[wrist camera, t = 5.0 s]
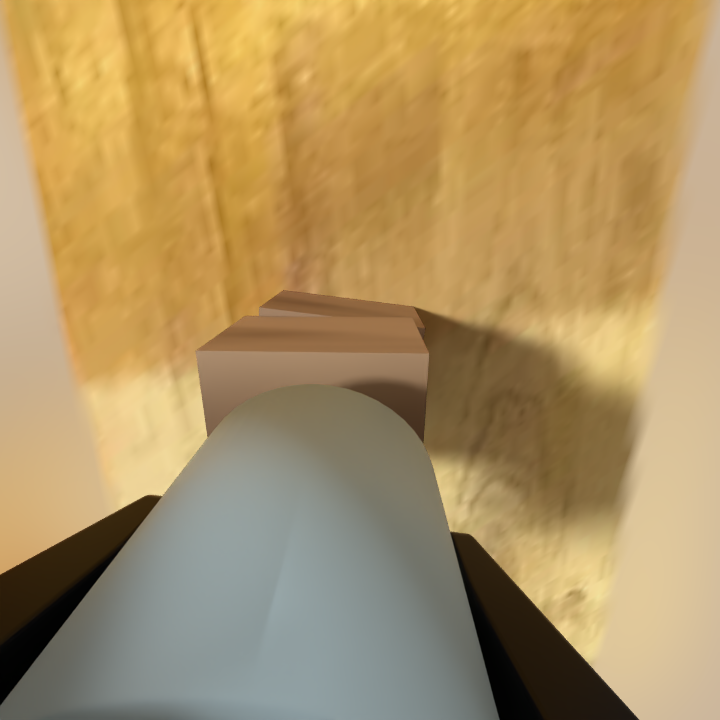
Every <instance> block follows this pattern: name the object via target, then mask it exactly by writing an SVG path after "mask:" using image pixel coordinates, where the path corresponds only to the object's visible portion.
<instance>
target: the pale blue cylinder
mask: <svg viewBox="0 0 720 720" xmlns="http://www.w3.org/2000/svg"><path fill="white" fill-rule="evenodd" d="M0 720H499V716H498V713H497V709H496V705H495V701H494V697H493V694H492V690H491V686H490V682H489V678H488V675H487V671H486V667H485V663H484V659H483V656H482V652H481V648H480V644H479V640H478V636H477V633H476V629H475V625H474V621H473V617H472V614H471V610H470V606H469V602H468V598H467V595H466V591H465V587H464V583H463V579H462V576H461V572H460V568H459V564H458V560H457V557H456V553H455V549H454V545H453V541H452V538H451V534H450V530H449V526H448V522H447V518H446V515H445V511H444V507H443V503H442V499H441V496H440V492H439V488H438V484H437V480H436V477H435V473H434V469H433V466H432V463H431V460H430V457H429V454H428V452H427V450H426V448H425V446H424V444H423V443H422V441H421V440H420V438H419V437H418V435H417V434H416V433H415V431H414V430H413V429H412V428H411V427H410V426H409V425H408V424H407V422H406V421H405V420H404V419H402V418H401V417H400V416H399V415H398V414H396V413H395V412H394V411H393V410H392V409H390V408H388V407H387V406H385V405H384V404H382V403H380V402H379V401H377V400H375V399H373V398H371V397H368V396H366V395H364V394H362V393H359V392H356V391H353V390H349V389H346V388H341V387H336V386H331V385H320V384H302V385H291V386H286V387H280V388H276V389H273V390H270V391H267V392H263V393H261V394H259V395H257V396H255V397H253V398H250V399H248V400H247V401H245V402H244V403H242V404H241V405H239V406H237V407H236V408H235V409H234V410H232V411H231V412H230V413H229V414H228V415H227V416H225V417H224V418H223V420H222V421H221V422H220V423H219V424H218V426H217V427H216V428H215V429H214V430H213V432H212V433H211V434H210V436H209V437H208V438H207V439H206V441H205V442H204V443H203V445H202V446H201V447H200V448H199V450H198V451H197V452H196V454H195V455H194V456H193V458H192V459H191V460H190V461H189V463H188V464H187V465H186V467H185V468H184V469H183V470H182V472H181V473H180V474H179V476H178V477H177V478H176V479H175V481H174V482H173V483H172V485H171V486H170V487H169V489H168V490H167V491H166V492H165V494H164V495H163V496H162V498H161V499H160V500H159V501H158V503H157V504H156V505H155V507H154V508H153V509H152V510H151V512H150V513H149V514H148V516H147V517H146V518H145V520H144V521H143V522H142V523H141V525H140V526H139V527H138V529H137V530H136V531H135V532H134V534H133V535H132V536H131V538H130V539H129V540H128V541H127V543H126V544H125V545H124V547H123V548H122V549H121V551H120V552H119V553H118V554H117V556H116V557H115V558H114V560H113V561H112V562H111V563H110V565H109V566H108V567H107V569H106V570H105V571H104V572H103V574H102V575H101V576H100V578H99V579H98V580H97V581H96V583H95V584H94V585H93V587H92V588H91V589H90V591H89V592H88V593H87V594H86V596H85V597H84V598H83V600H82V601H81V602H80V603H79V605H78V606H77V607H76V609H75V610H74V611H73V612H72V614H71V615H70V616H69V618H68V619H67V620H66V622H65V623H64V624H63V625H62V627H61V628H60V629H59V631H58V632H57V633H56V634H55V636H54V637H53V638H52V640H51V641H50V642H49V643H48V645H47V646H46V647H45V649H44V650H43V651H42V653H41V654H40V655H39V656H38V658H37V659H36V660H35V662H34V663H33V664H32V665H31V667H30V668H29V669H28V671H27V672H26V673H25V674H24V676H23V677H22V678H21V680H20V681H19V682H18V683H17V685H16V686H15V687H14V689H13V690H12V691H11V693H10V694H9V695H8V696H7V698H6V699H5V700H4V702H3V703H2V704H1V705H0Z"/></svg>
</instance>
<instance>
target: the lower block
mask: <svg viewBox="0 0 720 720" xmlns="http://www.w3.org/2000/svg"><path fill="white" fill-rule="evenodd" d="M259 316H311V317H408V318H413V320H414V322H415V324H416V327H417V329H418V331H419V333H420V335H421V337H422V339H423V338H424V333H425V327H424V325H423V323H422V321H421V319H420V318H419V316H418V314H417V312H416V310H415V308H414V307H412V306H404V305H396V304H389V303H381V302H373V301H365V300H357V299H349V298H341V297H333V296H325V295H317V294H309V293H301V292H293V291H285V290H283V291H282V292H280V293H279V294H277V295H276V296H275V297H273V298H272V299H270V300H269V301H268V302H266V303H265V304H263V305H262V306H261V307H259Z"/></svg>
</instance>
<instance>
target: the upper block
mask: <svg viewBox="0 0 720 720" xmlns="http://www.w3.org/2000/svg"><path fill="white" fill-rule="evenodd" d="M196 357H197V364H198V371H199V378H200V386H201V393H202V400H203V407H204V415H205V422H206V429H207V436H208V437H209V436H210V434H211V433H212V432H213V430H214V429H215V428H216V427H217V426H218V424H219V423H220V422H221V421H222V420H223V418H224V417H225V416H227V415H228V414H229V413H230V412H231V411H232V410H234V409H235V408H236V407H237V406H239V405H241V404H242V403H244V402H245V401H247V400H248V399H250V398H253V397H255V396H257V395H259V394H261V393H263V392H267V391H270V390H273V389H276V388H280V387H286V386H291V385H302V384H320V385H331V386H336V387H341V388H346V389H349V390H353V391H356V392H359V393H362V394H364V395H366V396H368V397H371V398H373V399H375V400H377V401H379V402H380V403H382V404H384V405H385V406H387V407H388V408H390V409H392V410H393V411H394V412H395V413H396V414H398V415H399V416H400V417H401V418H402V419H404V420H405V421H406V422H407V424H408V425H409V426H410V427H411V428H412V429H413V430H414V431H415V433H416V434H417V435H418V437H419V438H420V440H421V441H422V443H423V441H424V425H425V410H426V395H427V380H428V365H429V352H428V350H427V348H426V346H425V344H424V341H423V339H422V337H421V335H420V333H419V331H418V329H417V327H416V324H415V322H414V320H413V318H408V317H311V316H244V317H243V318H242V319H240V320H239V321H237V322H236V323H234V324H233V325H232V326H230V327H229V328H227V329H226V330H224V331H223V332H222V333H220V334H219V335H217V336H216V337H215V338H213V339H212V340H210V341H209V342H207V343H206V344H205V345H203V346H202V347H200V348H199V349H197V350H196Z"/></svg>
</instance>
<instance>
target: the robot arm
mask: <svg viewBox="0 0 720 720" xmlns="http://www.w3.org/2000/svg"><path fill="white" fill-rule="evenodd" d="M161 498H162V496H158V495H147V496H144V497H142V498H140V499H139V500H137V501H135V502H133V503H131V504H129V505H128V506H126V507H124V508H122V509H120V510H118V511H117V512H115V513H113V514H111V515H109V516H107V517H105V518H104V519H102V520H100V521H98V522H96V523H95V524H93V525H91V526H89V527H87V528H85V529H83V530H82V531H80V532H78V533H76V534H74V535H72V536H71V537H69V538H67V539H65V540H63V541H61V542H59V543H58V544H56V545H54V546H52V547H50V548H49V549H47V550H45V551H43V552H41V553H39V554H37V555H36V556H34V557H32V558H30V559H28V560H26V561H24V562H23V563H21V564H19V565H17V566H15V567H14V568H12V569H10V570H8V571H6V572H4V573H2V574H1V575H0V705H1V704H2V703H3V702H4V700H5V699H6V698H7V696H8V695H9V694H10V693H11V691H12V690H13V689H14V687H15V686H16V685H17V683H18V682H19V681H20V680H21V678H22V677H23V676H24V674H25V673H26V672H27V671H28V669H29V668H30V667H31V665H32V664H33V663H34V662H35V660H36V659H37V658H38V656H39V655H40V654H41V653H42V651H43V650H44V649H45V647H46V646H47V645H48V643H49V642H50V641H51V640H52V638H53V637H54V636H55V634H56V633H57V632H58V631H59V629H60V628H61V627H62V625H63V624H64V623H65V622H66V620H67V619H68V618H69V616H70V615H71V614H72V612H73V611H74V610H75V609H76V607H77V606H78V605H79V603H80V602H81V601H82V600H83V598H84V597H85V596H86V594H87V593H88V592H89V591H90V589H91V588H92V587H93V585H94V584H95V583H96V581H97V580H98V579H99V578H100V576H101V575H102V574H103V572H104V571H105V570H106V569H107V567H108V566H109V565H110V563H111V562H112V561H113V560H114V558H115V557H116V556H117V554H118V553H119V552H120V551H121V549H122V548H123V547H124V545H125V544H126V543H127V541H128V540H129V539H130V538H131V536H132V535H133V534H134V532H135V531H136V530H137V529H138V527H139V526H140V525H141V523H142V522H143V521H144V520H145V518H146V517H147V516H148V514H149V513H150V512H151V510H152V509H153V508H154V507H155V505H156V504H157V503H158V501H159V500H160V499H161ZM450 534H451V538H452V541H453V545H454V549H455V553H456V557H457V560H458V564H459V568H460V572H461V576H462V579H463V583H464V587H465V591H466V595H467V598H468V602H469V606H470V610H471V614H472V617H473V621H474V625H475V629H476V633H477V636H478V640H479V644H480V648H481V652H482V656H483V659H484V663H485V667H486V671H487V675H488V678H489V682H490V686H491V690H492V694H493V697H494V701H495V705H496V709H497V713H498V716H499V720H639V719H638V718H637V717H636V716H635V715H634V713H633V712H632V711H631V710H630V709H629V708H628V707H627V706H626V705H625V704H624V702H623V701H622V700H621V699H620V698H619V697H618V696H617V695H616V694H615V693H614V691H613V690H612V689H611V688H610V687H609V686H608V685H607V684H606V683H605V682H604V680H603V679H602V678H601V677H600V676H599V675H598V674H597V673H596V672H595V671H594V669H593V668H592V667H591V666H590V665H589V664H588V663H587V662H586V661H585V660H584V658H583V657H582V656H581V655H580V654H579V653H578V652H577V651H576V650H575V649H574V647H573V646H572V645H571V644H570V643H569V642H568V641H567V640H566V639H565V638H564V636H563V635H562V634H561V633H560V632H559V631H558V630H557V629H556V628H555V626H554V625H553V624H552V623H551V622H550V621H549V620H548V619H547V618H546V617H545V615H544V614H543V613H542V612H541V611H540V610H539V609H538V608H537V607H536V606H535V604H534V603H533V602H532V601H531V600H530V599H529V598H528V597H527V596H526V595H525V593H524V592H523V591H522V590H521V589H520V588H519V587H518V586H517V585H516V584H515V582H514V581H513V580H512V579H511V578H510V577H509V576H508V575H507V574H506V573H505V571H504V570H503V569H502V568H501V567H500V566H499V565H498V564H497V563H496V562H495V560H494V559H493V558H492V557H491V556H490V555H489V554H488V553H487V552H486V551H485V549H484V548H483V547H482V546H481V545H480V544H479V543H478V542H477V541H476V540H475V538H474V537H473V536H471V535H470V534H466V533H458V532H450Z"/></svg>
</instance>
